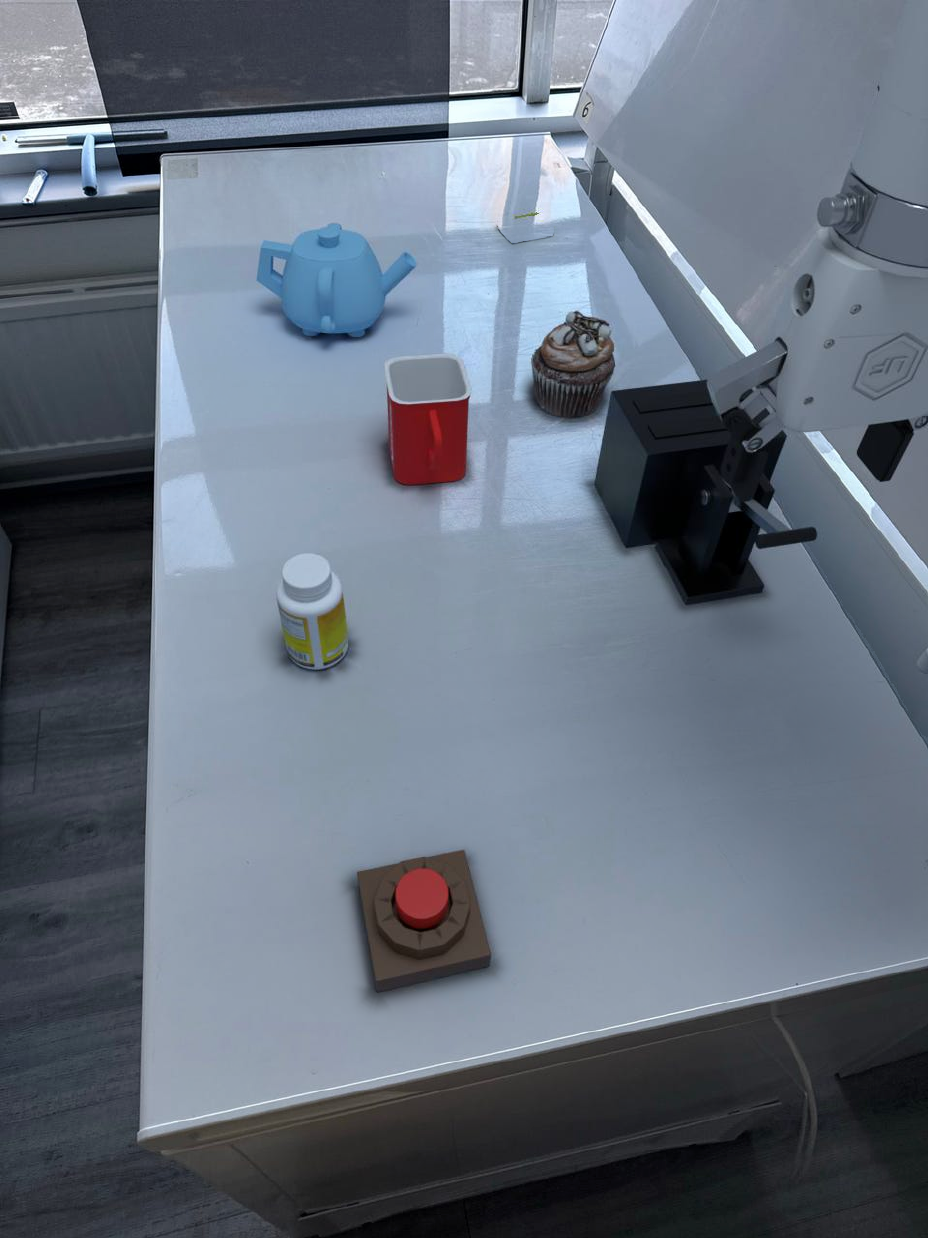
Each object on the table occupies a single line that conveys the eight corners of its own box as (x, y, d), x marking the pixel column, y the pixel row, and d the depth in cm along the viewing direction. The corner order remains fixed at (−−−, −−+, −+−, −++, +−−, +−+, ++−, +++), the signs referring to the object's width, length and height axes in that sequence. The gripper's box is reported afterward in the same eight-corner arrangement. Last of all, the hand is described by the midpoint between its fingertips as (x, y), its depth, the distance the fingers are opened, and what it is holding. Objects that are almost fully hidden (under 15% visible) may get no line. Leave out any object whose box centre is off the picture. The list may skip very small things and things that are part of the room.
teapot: (254, 353, 111) (239, 262, 102) (271, 284, 122) (259, 197, 113) (415, 357, 111) (414, 267, 102) (419, 288, 122) (418, 201, 113)
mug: (385, 440, 101) (382, 357, 93) (458, 434, 102) (460, 352, 94) (398, 512, 93) (395, 429, 85) (476, 505, 94) (480, 422, 86)
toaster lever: (814, 549, 75) (819, 523, 73) (759, 558, 74) (764, 532, 72) (749, 495, 84) (753, 471, 82) (700, 502, 83) (702, 478, 81)
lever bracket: (762, 592, 87) (800, 501, 78) (685, 605, 86) (716, 513, 77) (727, 536, 92) (760, 444, 83) (655, 547, 91) (680, 455, 82)
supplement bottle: (349, 623, 83) (341, 544, 75) (348, 671, 79) (339, 594, 72) (288, 625, 82) (274, 546, 75) (284, 673, 79) (269, 595, 71)
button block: (489, 966, 63) (492, 945, 60) (376, 992, 61) (374, 972, 58) (463, 862, 68) (464, 838, 65) (358, 884, 66) (355, 860, 63)
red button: (453, 922, 61) (453, 912, 60) (401, 934, 60) (400, 924, 59) (441, 874, 63) (442, 863, 62) (391, 884, 63) (390, 874, 61)
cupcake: (541, 367, 111) (549, 292, 103) (616, 386, 109) (631, 310, 101) (516, 410, 105) (523, 334, 97) (595, 430, 103) (609, 354, 95)
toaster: (752, 528, 93) (788, 434, 84) (625, 548, 91) (648, 452, 81) (713, 467, 99) (742, 373, 90) (593, 484, 97) (611, 389, 88)
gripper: (792, 266, 41) (704, 536, 54) (1111, 235, 44) (955, 498, 57) (724, 193, 46) (658, 458, 59) (1016, 170, 49) (892, 426, 62)
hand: (804, 477), depth 58 cm, fingers open, 9 cm apart
